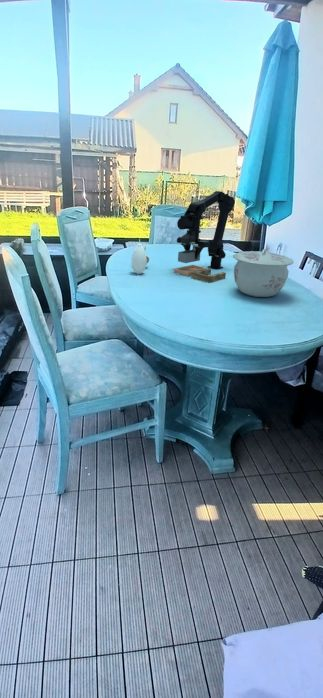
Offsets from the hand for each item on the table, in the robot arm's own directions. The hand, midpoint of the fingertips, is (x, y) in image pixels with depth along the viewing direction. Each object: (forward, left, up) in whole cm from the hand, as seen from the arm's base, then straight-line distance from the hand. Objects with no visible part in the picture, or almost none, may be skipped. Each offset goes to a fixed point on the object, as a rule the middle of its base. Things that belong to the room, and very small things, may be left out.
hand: (191, 258), depth 208 cm
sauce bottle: (+26, -15, -8) cm, 31 cm away
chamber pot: (+6, +45, -8) cm, 46 cm away
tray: (0, 0, -8) cm, 8 cm away
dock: (+3, +14, -8) cm, 16 cm away
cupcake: (+15, -24, -8) cm, 29 cm away
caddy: (+2, 0, -1) cm, 3 cm away
